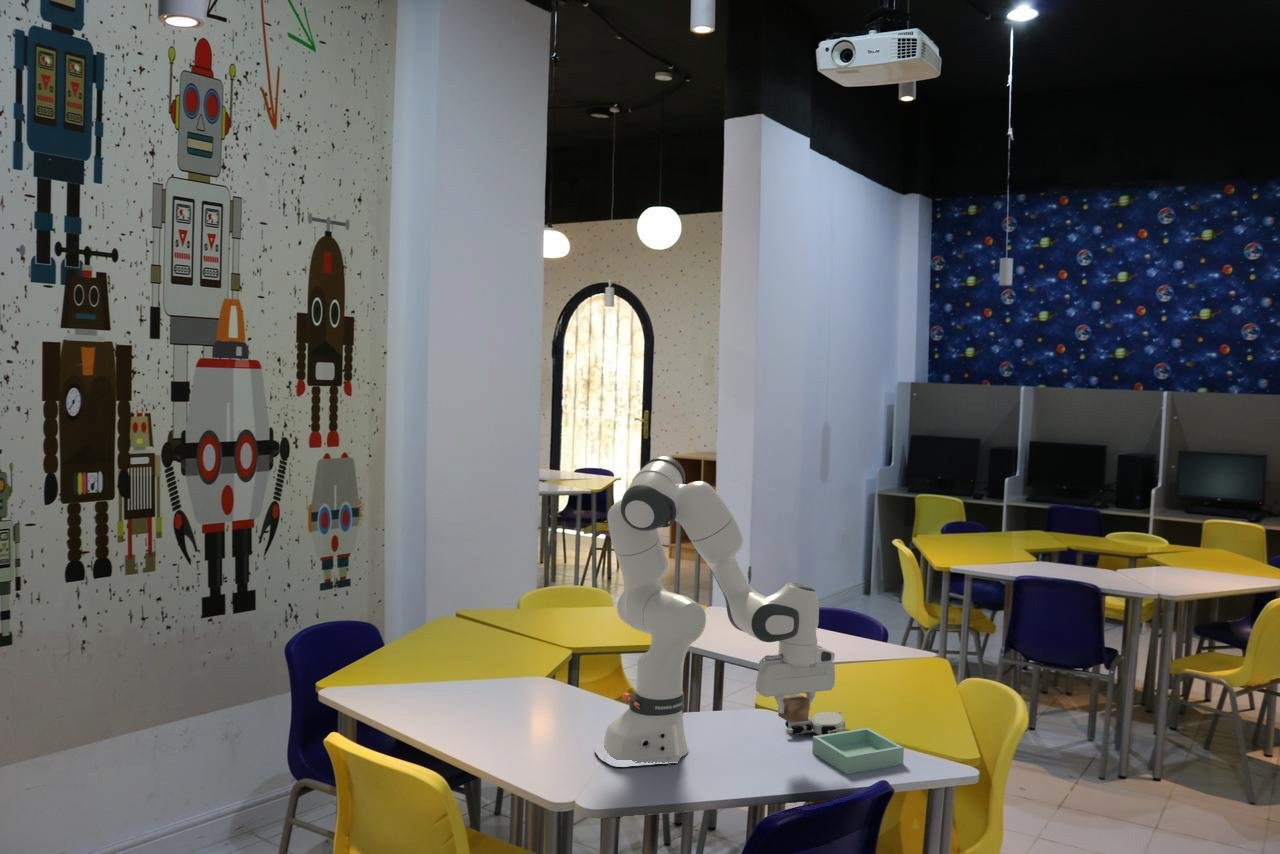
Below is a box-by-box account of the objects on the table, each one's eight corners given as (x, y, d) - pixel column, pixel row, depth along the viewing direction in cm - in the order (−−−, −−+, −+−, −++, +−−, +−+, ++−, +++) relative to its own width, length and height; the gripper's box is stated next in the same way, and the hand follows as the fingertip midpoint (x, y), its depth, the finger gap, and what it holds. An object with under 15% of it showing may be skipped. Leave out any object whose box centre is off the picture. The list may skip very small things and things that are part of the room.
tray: (846, 774, 232) (846, 757, 232) (812, 752, 245) (812, 736, 245) (903, 764, 238) (903, 747, 238) (867, 743, 251) (867, 727, 251)
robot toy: (785, 743, 253) (846, 743, 251) (784, 725, 253) (845, 725, 251) (786, 726, 265) (844, 726, 263) (785, 709, 265) (843, 708, 263)
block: (790, 722, 234) (791, 701, 234) (778, 715, 239) (779, 694, 238) (808, 720, 236) (809, 699, 236) (795, 713, 241) (797, 693, 241)
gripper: (767, 659, 229) (763, 720, 230) (840, 653, 238) (837, 711, 239) (752, 652, 235) (749, 711, 235) (824, 646, 244) (821, 703, 245)
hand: (794, 711), depth 237 cm, fingers closed on block, 5 cm apart
